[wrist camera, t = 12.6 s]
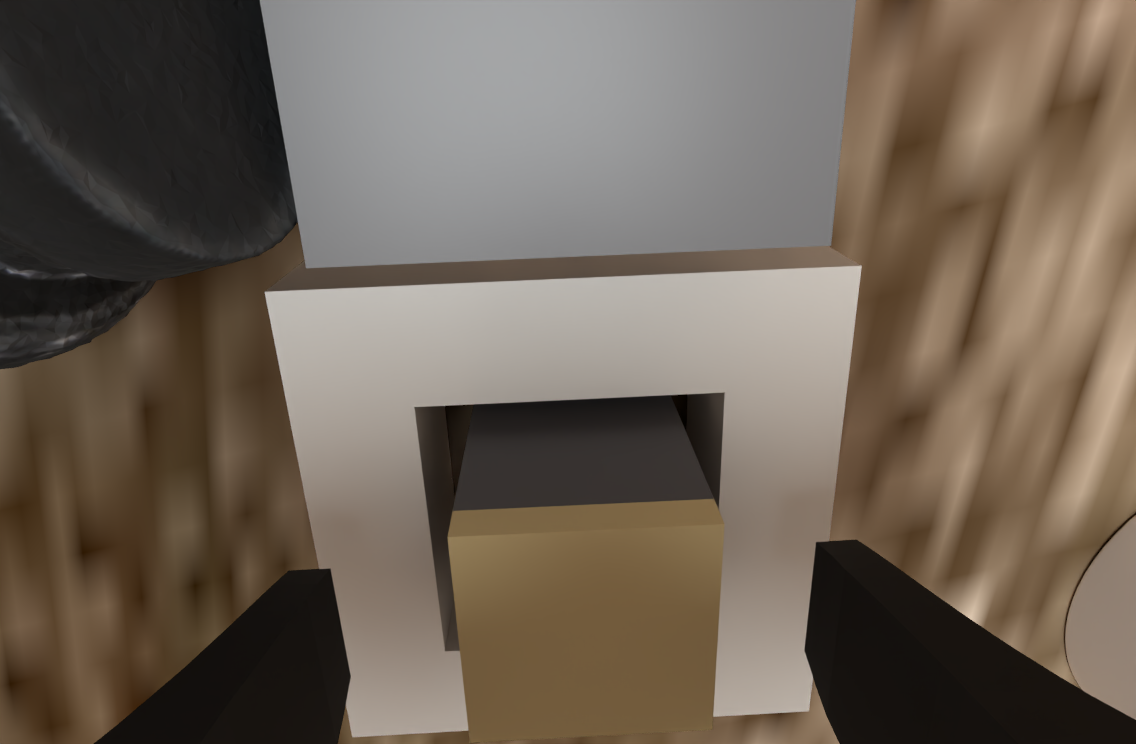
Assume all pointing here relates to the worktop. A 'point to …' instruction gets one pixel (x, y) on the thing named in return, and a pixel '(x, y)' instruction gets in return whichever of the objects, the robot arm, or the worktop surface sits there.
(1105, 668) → the cup
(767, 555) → the socket
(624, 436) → the plug
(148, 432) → the worktop surface
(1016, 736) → the robot arm
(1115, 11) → the worktop surface
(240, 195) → the pill bottle
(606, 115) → the grey square block
